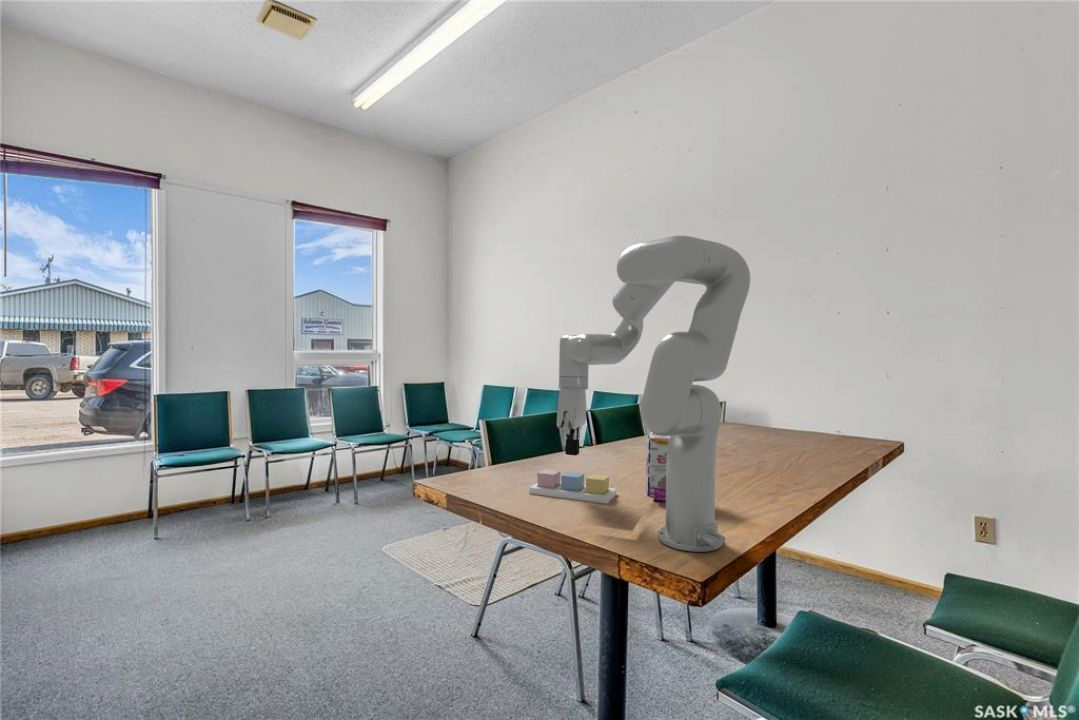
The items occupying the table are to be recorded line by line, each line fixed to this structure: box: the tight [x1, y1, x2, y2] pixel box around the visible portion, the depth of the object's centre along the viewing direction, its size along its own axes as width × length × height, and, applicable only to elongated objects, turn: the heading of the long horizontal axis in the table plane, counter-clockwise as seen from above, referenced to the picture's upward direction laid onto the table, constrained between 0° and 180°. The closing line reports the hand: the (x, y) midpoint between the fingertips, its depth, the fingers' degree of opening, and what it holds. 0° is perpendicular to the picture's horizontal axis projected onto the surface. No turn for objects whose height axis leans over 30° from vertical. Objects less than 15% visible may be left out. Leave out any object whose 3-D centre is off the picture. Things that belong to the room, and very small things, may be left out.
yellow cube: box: [585, 474, 610, 495], centre depth 129 cm, size 5×5×5 cm
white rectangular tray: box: [528, 481, 617, 504], centre depth 131 cm, size 21×8×3 cm, turn 67°
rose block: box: [536, 469, 561, 489], centre depth 134 cm, size 5×5×5 cm
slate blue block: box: [560, 471, 585, 492], centre depth 131 cm, size 5×5×5 cm
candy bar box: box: [645, 434, 670, 503], centre depth 131 cm, size 11×5×16 cm, turn 84°
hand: (572, 454), depth 131 cm, fingers closed
